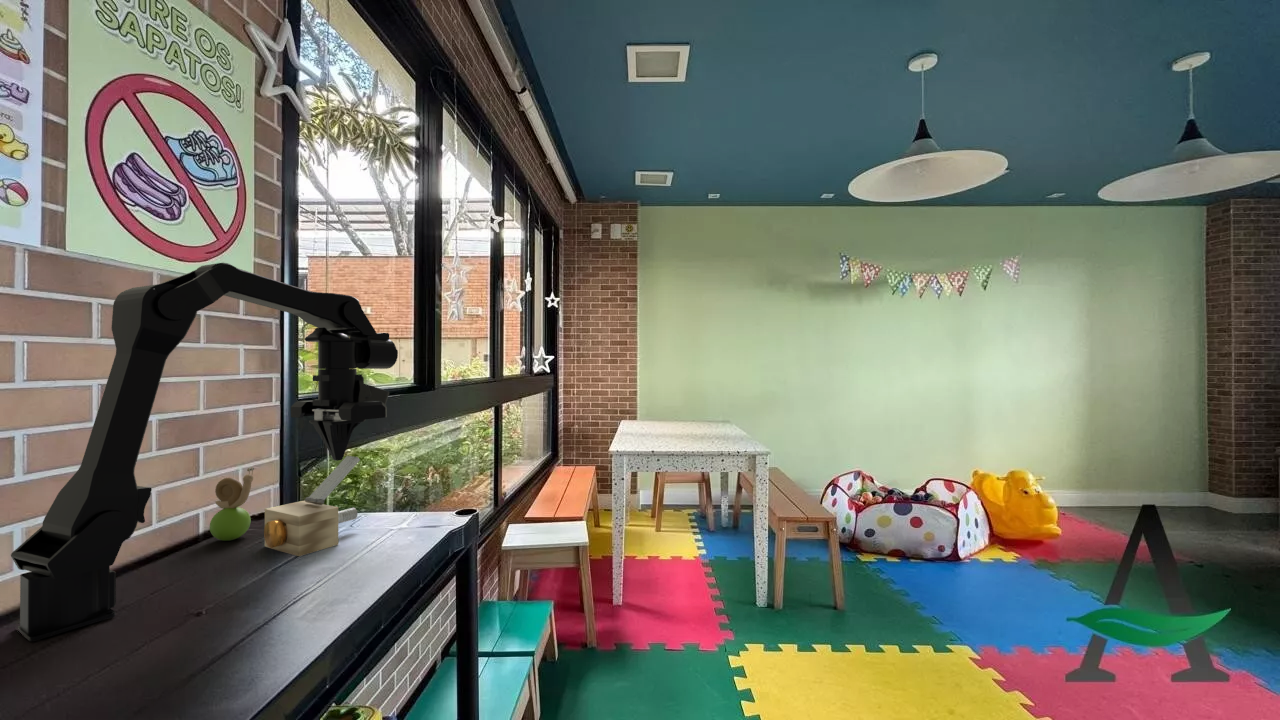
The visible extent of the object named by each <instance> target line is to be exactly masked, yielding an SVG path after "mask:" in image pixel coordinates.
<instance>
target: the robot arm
mask: <svg viewBox="0 0 1280 720" xmlns="http://www.w3.org/2000/svg"><path fill="white" fill-rule="evenodd" d="M223 296H225V297H229V298H232V299H235V300H239V301H243V302H248V303H251V304H254V305H259V306H262V307H266V308H270V309H274V310H277V311H282V312H285V313H288V314H291V315H292V314H293V315H294V316H296V317H299V318H300V319H301V320H303V322H305V323H307V324H308V325H311V326H313V327H316V328H314V330H313V331H312V332H311V333H310V334H308V335H307V336H306V337H304V341H305V342H307V343H308V342H309V343H313V342H314V343H317V349H318V350H317V362H318V363H317V367H318V368H317V369H318V372H317V375H316V374H314V375H313V374H312V382H317V383H318V385H317V387H318V388H317V390H318V391H317V392H318V395H317V398H318V399H317V398H316V399H312V400H299V401H298V400H297V401H295V402H294V403H293V404H292V405H291V406H290V418H301V419H302V418H303V417H313V416H314V417H313V418H314V419H312V420H311V419H309V424H310V425H311V424H312V426H313V427H314V429H315V431H316V432H317V434H318V435H319V437H320V439H321V440H322V442H323V444H324V445H325V447H326V449H327V450H328V452H329V455H330V457H331V458H332V460H334V461H336V462H337V461H343V460H344V456H345V453H346V450H347V448H348V446H349V442H350V438H351V437H352V434H353V432H354V430H355V428H357V427H358V426H359V425H360V424H361V423H364V422H365V421H366V420H374V419H375V420H376V419H385V418H387V417H388V415H387V413H388V411H387V409H388V407H387V401H388V398H389V396H390V391H388V390H385V389H382V388H379V387H376V386H375V385H370V384H367V383H365V382H364V381H365V378H364V376H363V374H357V373H358V372H357V369H359V370H369V369H370V370H372V369H373V370H377V369H379V370H383V369H384V370H385V369H386V370H389V369H391V368H393V367H394V365H395V364H396V363H397V361H398V357H399V356H398V355H399V352H398V351H399V350H398V349H397V346H396V344H395V343H394V342H393V340H391V339H390V333H389V332H377V331H376V330H375V328H374V326H373V324H372V323H371V321H370V320H369V318H368V317H367V315H366V313H365V311H364V310H363V308H362V306H361V304H360V300H359V299H358V298H356V297H354V296H353V295H349V294H342V293H341V294H340V293H333V292H321V291H311V290H307V289H306V288H305V289H304V288H301V287H298V286H295V285H292V284H288V283H285V282H281V281H279V280H276V279H272V278H270V277H267V276H263V275H259V274H258V273H255V272H251V271H247V270H243V269H240V268H238V267H237V266H234V265H233V264H230V263H227V262H216V263H212V264H206V265H204V264H203V265H200V266H199V267H197V268H196V269H195V270H192V271H191V272H188V273H185V274H183V275H179V276H177V277H174V278H172V279H170V280H169V279H168V280H167V281H164V282H161V283H159V284H151V285H144V286H143V285H142V286H136V287H135V286H134V287H131V288H129V289H126V290H124V291H122V292H120V293H119V294H118V295H117V296H116V297H115V299H114V301H113V306H112V314H111V333H112V337H113V342H114V346H115V355H114V359H113V361H112V365H111V368H110V371H109V375H108V378H107V382H106V384H105V388H104V390H103V393H102V397H101V400H100V403H99V406H98V410H97V413H96V416H95V419H94V421H93V422H94V423H93V425H92V429H91V432H90V435H89V438H88V442H87V444H86V448H85V451H84V454H83V457H82V461H81V462H80V463H81V464H80V466H79V467H78V470H77V471H76V472H75V473H74V474H73V475H72V476H71V478H70V479H69V480H68V481H67V482H66V483H65V485H63V487H62V488H61V489H60V490H59V492H58V493H57V494H56V497H55V498H54V500H53V502H52V504H51V506H50V507H49V509H48V510H47V513H46V514H45V516H44V519H43V521H42V526H41V527H40V528H39V529H37V531H35V532H34V533H33V534H32V535H31V536H29V537H28V538H27V539H26V540H25V541H23V543H22V544H20V545H19V546H18V547H16V548H15V550H14V551H12V553H11V554H10V557H11V559H12V561H13V562H14V563H15V565H16V567H17V569H18V570H21V571H28V572H25V573H21V574H20V577H19V578H20V579H19V581H20V583H19V584H20V585H19V588H20V590H19V591H20V594H19V600H20V601H19V623H20V626H18V629H19V630H20V632H21V633H22V634H23V635H24V636H23V635H22V636H23V637H24V638H25V639H27V640H28V641H29V642H35V641H39V640H42V639H46V638H49V637H52V636H56V635H58V634H62V633H66V632H69V631H72V630H76V629H78V628H81V627H82V628H83V627H85V626H87V625H91V624H94V623H98V622H101V621H105V620H107V619H111V618H113V617H115V616H116V611H115V610H114V609H113V608H115V606H116V605H117V599H116V598H117V572H116V571H114V570H112V569H111V568H110V566H113V565H114V564H115V562H116V559H117V557H118V554H119V552H120V550H121V547H122V546H123V544H124V542H126V541H127V540H129V539H130V538H131V537H132V535H133V534H134V533H135V530H136V528H137V526H138V523H140V524H144V523H145V522H146V520H145V509H146V505H147V503H148V501H149V499H150V498H151V495H152V490H153V489H152V487H149V486H140V485H138V484H137V479H136V475H135V470H136V469H135V468H136V464H137V461H138V457H139V455H140V454H139V453H140V452H141V448H142V444H143V441H144V437H145V433H146V430H147V427H148V424H149V419H150V417H151V413H152V411H153V407H154V404H155V403H154V402H155V400H156V396H157V392H158V389H159V387H160V386H159V385H160V383H161V380H162V379H161V378H162V375H163V371H164V370H165V365H166V361H167V359H168V358H169V356H170V355H171V353H173V351H174V350H175V349H176V348H177V346H178V345H179V344H180V343H181V342H182V341H183V340H184V339H185V337H186V336H187V334H188V332H189V330H190V328H191V327H192V325H193V323H194V321H195V319H196V316H197V314H198V312H199V311H201V310H203V309H205V308H206V307H209V306H210V305H212V304H214V303H215V302H216V301H218V300H219V299H220V298H221V297H223Z"/></svg>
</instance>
